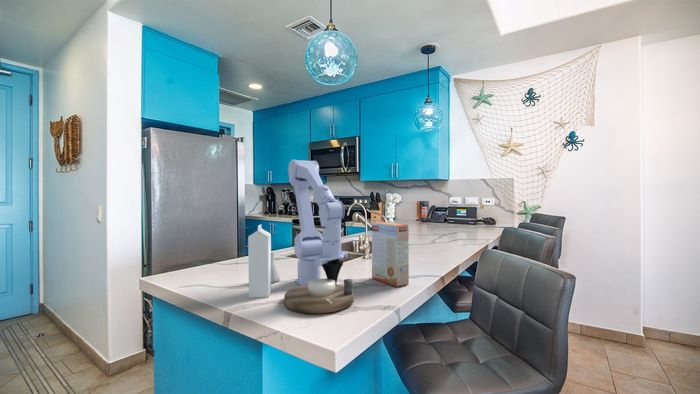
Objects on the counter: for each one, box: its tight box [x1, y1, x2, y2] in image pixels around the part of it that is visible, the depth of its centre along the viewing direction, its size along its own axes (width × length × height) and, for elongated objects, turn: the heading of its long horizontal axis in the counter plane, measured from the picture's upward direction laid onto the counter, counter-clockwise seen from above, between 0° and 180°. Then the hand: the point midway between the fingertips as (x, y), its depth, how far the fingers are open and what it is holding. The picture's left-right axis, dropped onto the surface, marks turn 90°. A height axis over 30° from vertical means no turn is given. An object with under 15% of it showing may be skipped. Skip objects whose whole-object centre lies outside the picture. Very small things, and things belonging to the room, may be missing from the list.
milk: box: [247, 223, 272, 299], centre depth 100 cm, size 6×6×22 cm
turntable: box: [283, 278, 354, 314], centre depth 93 cm, size 20×20×6 cm
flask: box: [271, 252, 281, 284], centre depth 115 cm, size 7×7×10 cm
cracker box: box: [371, 221, 410, 288], centre depth 113 cm, size 14×6×21 cm, turn 33°
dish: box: [308, 278, 335, 297], centre depth 94 cm, size 8×8×3 cm
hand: (332, 284), depth 98 cm, fingers closed
